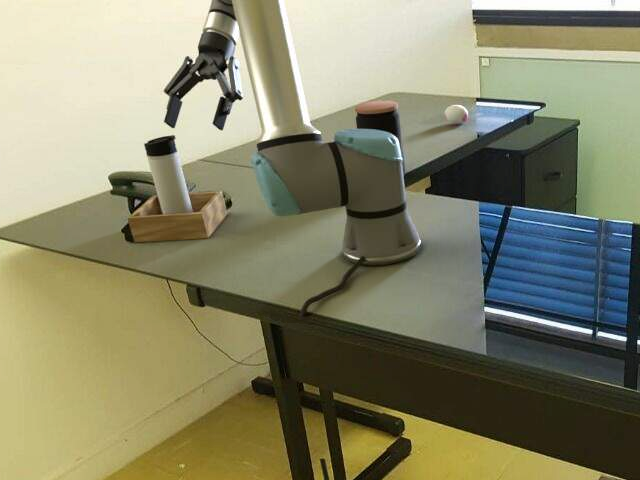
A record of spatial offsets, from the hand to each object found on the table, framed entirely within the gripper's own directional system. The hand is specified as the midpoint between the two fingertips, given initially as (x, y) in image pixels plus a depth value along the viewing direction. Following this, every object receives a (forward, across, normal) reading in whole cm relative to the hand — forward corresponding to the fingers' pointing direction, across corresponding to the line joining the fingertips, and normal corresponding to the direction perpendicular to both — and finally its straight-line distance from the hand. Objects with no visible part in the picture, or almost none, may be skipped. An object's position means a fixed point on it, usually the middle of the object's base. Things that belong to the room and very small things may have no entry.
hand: (193, 126), depth 174 cm
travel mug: (+22, 0, -6) cm, 23 cm away
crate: (+22, 0, -6) cm, 22 cm away
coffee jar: (-8, -27, -38) cm, 48 cm away
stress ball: (-49, -20, -83) cm, 98 cm away
